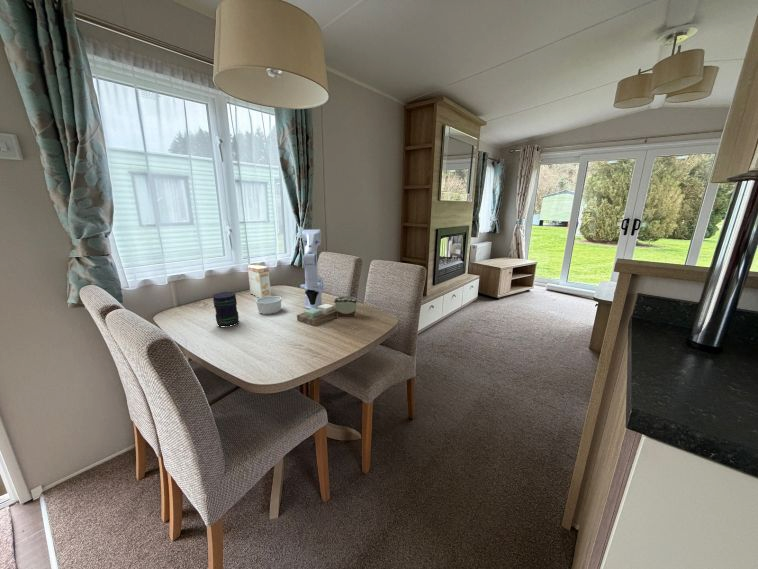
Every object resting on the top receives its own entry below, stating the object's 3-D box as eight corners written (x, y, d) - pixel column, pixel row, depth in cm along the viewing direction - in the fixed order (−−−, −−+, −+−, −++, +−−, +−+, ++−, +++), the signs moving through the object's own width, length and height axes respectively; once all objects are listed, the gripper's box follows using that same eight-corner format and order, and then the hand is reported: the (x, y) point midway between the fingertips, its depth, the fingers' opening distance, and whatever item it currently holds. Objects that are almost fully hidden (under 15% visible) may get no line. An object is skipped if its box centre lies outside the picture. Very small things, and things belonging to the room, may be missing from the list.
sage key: (304, 315, 147) (304, 311, 147) (313, 312, 152) (313, 308, 151) (313, 318, 144) (312, 313, 143) (321, 314, 149) (321, 310, 148)
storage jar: (234, 318, 151) (231, 290, 147) (242, 323, 144) (239, 294, 140) (213, 323, 144) (209, 294, 140) (221, 329, 137) (216, 298, 133)
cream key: (318, 310, 154) (317, 306, 154) (326, 307, 159) (325, 303, 158) (326, 313, 151) (325, 308, 150) (334, 310, 156) (334, 305, 155)
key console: (297, 320, 148) (296, 315, 147) (325, 309, 163) (325, 304, 163) (313, 326, 141) (313, 320, 140) (341, 314, 157) (341, 308, 156)
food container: (359, 314, 157) (359, 296, 154) (357, 318, 151) (357, 299, 148) (337, 313, 158) (336, 295, 156) (334, 317, 152) (333, 299, 150)
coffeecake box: (271, 296, 188) (268, 267, 184) (261, 299, 183) (257, 268, 178) (260, 292, 198) (257, 264, 193) (250, 294, 193) (246, 265, 188)
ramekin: (277, 315, 155) (276, 303, 153) (252, 315, 155) (251, 302, 154) (285, 307, 168) (284, 295, 166) (263, 307, 168) (261, 295, 166)
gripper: (294, 277, 144) (296, 303, 147) (315, 281, 136) (317, 309, 139) (305, 275, 149) (307, 300, 153) (326, 278, 141) (327, 305, 145)
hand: (312, 304), depth 146 cm, fingers closed
